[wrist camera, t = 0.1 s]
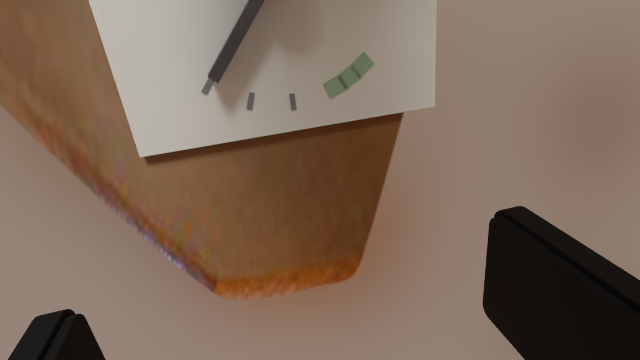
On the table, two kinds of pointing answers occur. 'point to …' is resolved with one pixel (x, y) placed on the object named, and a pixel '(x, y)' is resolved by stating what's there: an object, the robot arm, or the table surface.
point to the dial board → (264, 66)
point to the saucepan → (234, 39)
